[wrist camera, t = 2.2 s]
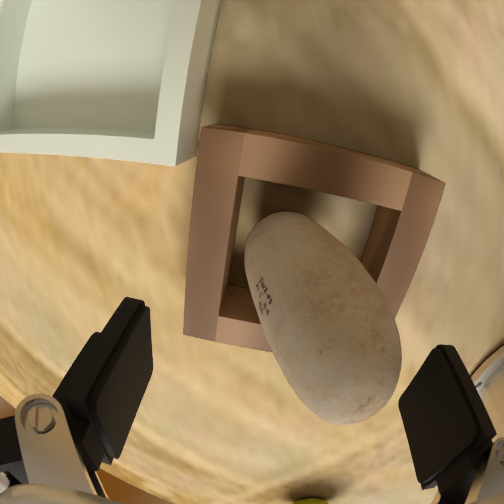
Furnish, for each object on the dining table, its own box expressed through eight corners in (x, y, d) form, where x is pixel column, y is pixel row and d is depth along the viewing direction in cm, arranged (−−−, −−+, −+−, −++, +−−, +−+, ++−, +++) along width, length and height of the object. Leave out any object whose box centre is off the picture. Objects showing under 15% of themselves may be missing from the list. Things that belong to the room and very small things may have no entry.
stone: (255, 187, 18) (208, 313, 7) (362, 203, 18) (453, 337, 7) (245, 275, 20) (207, 439, 10) (341, 288, 20) (377, 451, 9)
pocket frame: (419, 169, 16) (445, 183, 13) (361, 331, 21) (370, 365, 18) (217, 124, 16) (201, 127, 13) (197, 302, 22) (183, 334, 19)
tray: (240, -76, 10) (231, -106, 7) (195, 155, 17) (175, 166, 14) (41, -40, 11) (13, -50, 8) (9, 142, 18) (-24, 152, 14)
